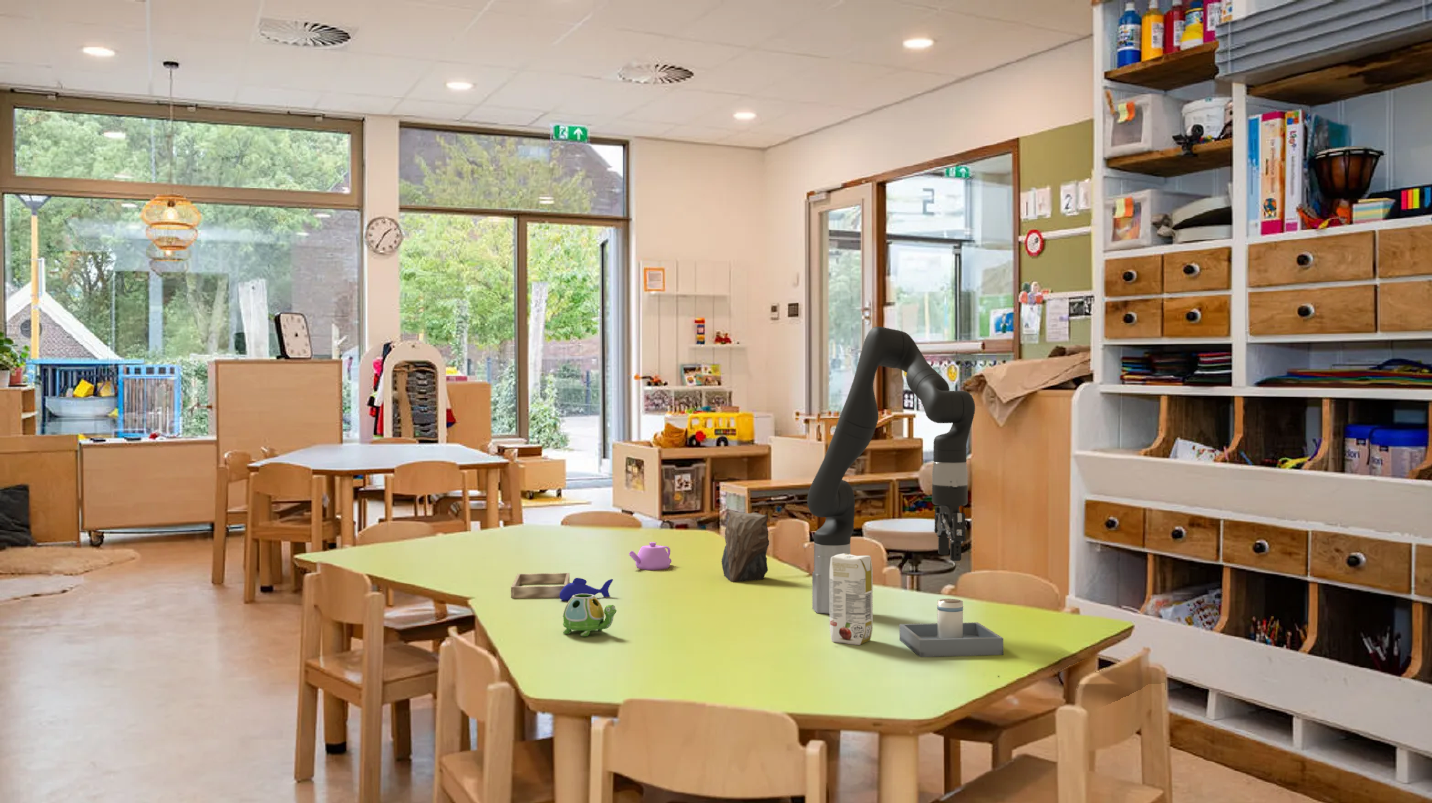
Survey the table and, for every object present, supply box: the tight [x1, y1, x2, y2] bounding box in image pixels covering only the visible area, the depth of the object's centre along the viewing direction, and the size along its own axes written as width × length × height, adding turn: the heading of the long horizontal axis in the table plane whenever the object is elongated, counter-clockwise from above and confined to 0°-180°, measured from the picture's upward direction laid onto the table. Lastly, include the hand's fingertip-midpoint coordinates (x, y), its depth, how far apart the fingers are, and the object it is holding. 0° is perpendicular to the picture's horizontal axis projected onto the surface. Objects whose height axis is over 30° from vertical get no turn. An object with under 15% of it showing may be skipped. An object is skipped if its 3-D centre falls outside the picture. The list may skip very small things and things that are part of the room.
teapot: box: [628, 541, 672, 571], centre depth 338 cm, size 10×15×9 cm
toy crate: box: [510, 572, 571, 599], centre depth 302 cm, size 15×22×4 cm
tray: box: [899, 621, 1004, 658], centre depth 238 cm, size 18×16×4 cm
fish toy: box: [559, 577, 614, 602], centre depth 290 cm, size 15×8×7 cm, turn 117°
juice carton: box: [829, 553, 874, 646], centre depth 244 cm, size 8×9×19 cm
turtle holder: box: [562, 594, 617, 637], centre depth 253 cm, size 9×13×9 cm
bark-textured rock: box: [721, 511, 770, 583], centre depth 323 cm, size 13×13×20 cm
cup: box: [936, 598, 964, 639], centre depth 238 cm, size 6×6×9 cm
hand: (949, 557), depth 238 cm, fingers open, 8 cm apart
